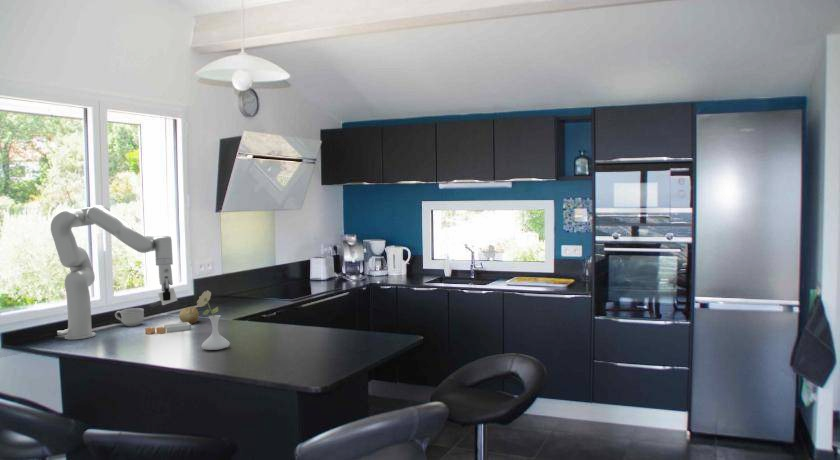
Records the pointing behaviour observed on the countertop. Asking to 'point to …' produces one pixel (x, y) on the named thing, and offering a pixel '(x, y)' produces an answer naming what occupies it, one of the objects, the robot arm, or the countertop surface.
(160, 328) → the clip
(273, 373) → the countertop surface
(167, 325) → the holder
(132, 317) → the teacup
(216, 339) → the flower in vase
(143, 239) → the robot arm
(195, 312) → the bread roll
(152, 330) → the clip
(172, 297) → the connector
